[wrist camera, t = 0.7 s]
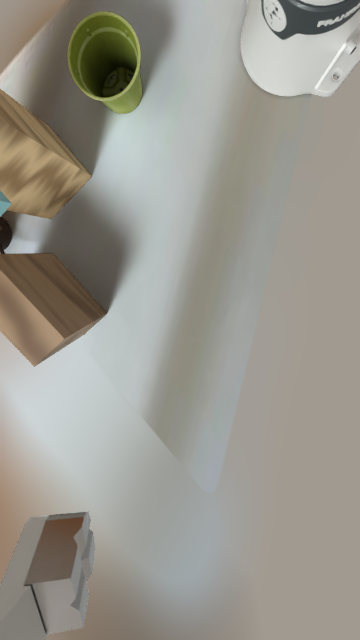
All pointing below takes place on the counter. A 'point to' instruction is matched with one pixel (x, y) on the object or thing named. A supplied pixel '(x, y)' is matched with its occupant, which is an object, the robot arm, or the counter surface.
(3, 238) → the coffee mug
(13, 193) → the oak box
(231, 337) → the counter surface
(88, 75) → the plant pot
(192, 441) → the counter surface
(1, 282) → the walnut step
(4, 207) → the cover plate
